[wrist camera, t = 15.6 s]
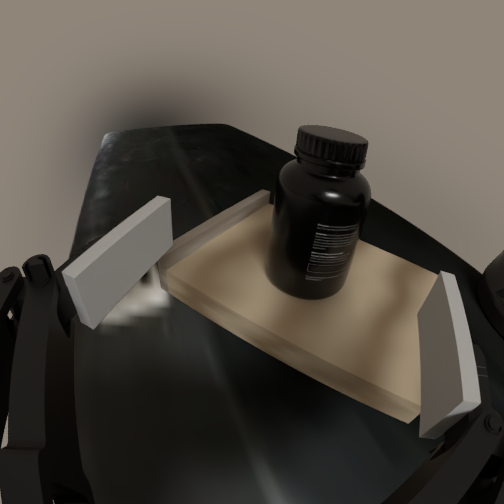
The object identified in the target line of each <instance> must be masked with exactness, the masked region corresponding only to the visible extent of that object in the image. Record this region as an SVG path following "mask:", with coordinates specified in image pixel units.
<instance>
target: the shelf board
mask: <svg viewBox="0 0 504 504" xmlns="http://www.w3.org/2000/svg"><path fill="white" fill-rule="evenodd" d="M269 197H270V192H269V191H266V190H263V189H262V190H261V191H259V192H257V193H255V194H253V195H252V196H250V197H248V198H246V199H244V200H243V201H241V202H239V203H237V204H235V205H234V206H232V207H230V208H228V209H227V210H225V211H223V212H221V213H220V214H218V215H216V216H214V217H213V218H211V219H209V220H207V221H206V222H204V223H202V224H201V225H199V226H197V227H195V228H194V229H192V230H190V231H189V232H187V233H185V234H184V235H182V236H180V237H179V238H177V239H175V240H174V241H173V245H172V246H171V247H170V248H169V250H168V251H167V252H166V253H165V254H164V255H163V256H162V257H161V258H160V259H159V260H158V268H159V276H160V283H161V288H162V289H164V290H165V291H167V292H168V293H170V294H171V295H173V296H174V297H176V298H177V299H179V300H181V301H182V302H184V303H185V304H187V305H188V306H190V307H191V308H193V309H194V310H196V311H198V312H199V313H201V314H202V315H204V316H206V317H207V318H209V319H210V320H212V321H214V322H215V323H217V324H218V325H220V326H222V327H223V328H225V329H227V330H228V331H230V332H232V333H233V334H235V335H237V336H238V337H240V338H242V339H243V340H245V341H247V342H248V343H250V344H252V345H254V346H255V347H257V348H259V349H261V350H262V351H264V352H266V353H268V354H269V355H271V356H273V357H275V358H276V359H278V360H280V361H282V362H284V363H286V364H287V365H289V366H291V367H293V368H295V369H297V370H298V371H300V372H302V373H304V374H306V375H308V376H310V377H312V378H314V379H315V380H317V381H319V382H321V383H323V384H325V385H327V386H329V387H331V388H333V389H335V390H337V391H339V392H341V393H343V394H345V395H347V396H349V397H351V398H353V399H355V400H357V401H360V402H362V403H364V404H366V405H368V406H370V407H372V408H375V409H377V410H379V411H381V412H383V413H386V414H388V415H390V416H392V417H394V418H397V419H399V420H401V421H404V422H406V423H410V422H411V421H412V420H413V419H414V418H415V417H416V416H418V415H419V414H420V409H421V372H420V347H419V332H418V320H417V313H418V312H419V310H420V308H421V306H422V305H423V303H424V301H425V299H426V298H427V296H428V294H429V292H430V290H431V289H432V287H433V285H434V283H435V281H436V279H437V277H438V275H436V274H434V273H432V272H430V271H428V270H426V269H424V268H421V267H419V266H417V265H415V264H413V263H411V262H408V261H406V260H404V259H402V258H399V257H397V256H395V255H393V254H391V253H388V252H386V251H384V250H381V249H379V248H377V247H375V246H372V245H370V244H368V243H365V242H363V241H361V240H359V242H358V245H357V248H356V251H355V255H354V258H353V261H352V264H351V267H350V270H349V273H348V276H347V279H346V281H345V284H344V286H343V287H342V289H341V290H340V291H339V292H338V293H336V294H335V295H333V296H331V297H329V298H326V299H321V300H304V299H299V298H296V297H293V296H290V295H288V294H286V293H284V292H283V291H281V290H280V289H278V288H277V287H276V286H275V285H274V284H273V283H272V281H271V280H270V278H269V276H268V274H267V270H266V262H267V253H268V245H269V237H270V230H271V222H272V214H273V206H274V205H271V204H269Z"/></svg>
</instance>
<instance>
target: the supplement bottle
mask: <svg viewBox="0 0 504 504" xmlns="http://www.w3.org/2000/svg"><path fill="white" fill-rule="evenodd" d="M367 148H368V141H367V140H366V139H365V138H363V137H361V136H359V135H357V134H354V133H352V132H349V131H345V130H341V129H337V128H332V127H327V126H318V125H304V126H301V127H299V129H298V134H297V142H296V145H295V149H294V153H295V155H296V156H297V159H295V160H292V161H290V162H288V163H287V164H286V165H284V166H283V167H282V169H281V170H280V172H279V174H278V177H277V182H276V190H275V198H274V206H273V214H272V222H271V230H270V237H269V245H268V253H267V262H266V270H267V274H268V276H269V278H270V280H271V281H272V283H273V284H274V285H275V286H276V287H277V288H278V289H280V290H281V291H283V292H284V293H286V294H288V295H290V296H293V297H296V298H299V299H304V300H321V299H326V298H329V297H331V296H333V295H335V294H336V293H338V292H339V291H340V290H341V289H342V287H343V286H344V284H345V281H346V279H347V276H348V273H349V270H350V267H351V264H352V261H353V258H354V255H355V251H356V248H357V245H358V242H359V238H360V235H361V232H362V228H363V225H364V221H365V218H366V214H367V211H368V207H369V203H370V199H371V189H370V186H369V184H368V181H367V180H366V178H365V177H364V176H363V175H362V174H361V173H360V170H361V169H363V168H364V167H365V162H366V160H365V158H366V153H367Z"/></svg>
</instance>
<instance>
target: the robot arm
mask: <svg viewBox="0 0 504 504" xmlns="http://www.w3.org/2000/svg"><path fill="white" fill-rule="evenodd" d="M172 245H173V238H172V221H171V201H170V199H169V198H165V197H161V196H157V197H155V198H154V199H153V200H151V201H150V202H149V203H147V204H146V205H144V206H143V207H142V208H140V209H139V210H138V211H136V212H135V213H134V214H132V215H131V216H130V217H128V218H127V219H126V220H124V221H123V222H122V223H120V224H119V225H118V226H117V227H115V228H114V229H113V230H111V231H110V232H109V233H108V234H106V235H105V236H104V237H103V238H102V237H99V238H97V239H95V240H93V241H90V242H89V243H88V244H87V245H85V246H84V247H83V248H82V250H81V249H80V250H79V251H78V252H77V253H76V255H75V254H74V255H73V256H72V257H71V258H70V259H68V260H67V261H66V262H65V263H64V264H63V265H62V266H60V267H59V268H58V269H57V270H56V271H54V269H53V266H52V264H51V261H50V258H49V257H48V256H47V255H44V254H41V255H35V256H33V257H31V258H29V259H28V260H27V261H26V262H25V263H24V264H23V266H22V269H23V271H24V274H25V276H26V277H22V274H21V272H20V270H19V268H17V267H14V266H13V267H8V268H6V269H4V270H3V271H2V272H0V449H1V444H2V439H3V434H4V429H5V424H6V420H7V416H8V444H7V446H6V447H4V448H2V449H1V450H0V491H1V499H2V504H53V500H54V503H55V504H95V503H94V499H93V494H92V490H91V487H90V484H89V481H88V479H87V478H86V476H85V474H84V472H83V469H82V464H81V458H80V451H79V443H78V434H77V424H76V412H75V397H74V319H73V317H74V316H75V315H76V314H78V316H79V318H80V321H81V323H83V324H85V325H87V326H88V327H90V328H92V329H95V328H96V327H97V325H98V324H99V323H100V322H101V321H102V320H103V319H104V318H105V316H106V315H107V314H108V313H109V312H110V311H111V310H112V309H113V308H114V306H115V305H116V304H117V303H118V302H119V301H120V300H121V299H122V298H123V297H124V296H125V294H126V293H127V292H128V291H129V290H130V289H131V288H132V287H133V286H134V285H135V284H136V283H137V282H138V281H139V280H140V278H141V277H142V276H143V275H144V274H145V273H146V272H147V271H148V270H149V269H150V268H151V267H152V266H153V265H154V264H155V263H156V262H157V261H158V260H159V259H160V258H161V257H162V256H163V255H164V254H165V253H166V252H167V251H168V250H169V248H170V247H171V246H172ZM477 294H478V298H479V301H480V304H481V306H482V308H483V310H484V312H485V314H486V316H487V317H488V319H489V320H490V322H491V323H492V325H493V326H494V327H495V329H496V330H497V331H498V332H499V333H500V334H501V335H502V336H503V337H504V251H503V252H502V253H501V254H500V255H498V256H497V258H495V259H494V260H493V261H492V263H490V264H489V265H488V266H487V268H486V269H485V271H484V273H483V274H482V276H481V278H480V280H479V281H478V285H477ZM9 310H10V311H11V313H12V314H13V316H12V318H11V319H9V317H8V315H7V314H8V312H9ZM417 320H418V332H419V347H420V372H421V409H420V433H419V437H422V438H431V439H436V438H438V437H439V436H441V435H442V434H443V433H445V441H443V442H442V443H440V444H439V445H438V446H436V447H435V448H433V449H432V450H430V451H429V452H430V453H432V452H433V451H434V452H433V453H432V454H431V455H430V456H429V457H428V458H427V459H426V461H425V462H424V463H423V464H422V465H421V466H420V467H419V468H418V469H417V470H416V471H415V472H414V473H413V474H412V475H411V476H410V477H409V478H408V479H407V480H406V481H405V482H404V483H403V484H402V485H401V486H400V487H399V488H398V489H397V490H396V491H395V492H394V493H392V494H391V495H390V496H389V497H388V498H387V499H386V500H385V501H384V502H382V503H381V504H504V423H503V419H502V417H501V416H500V414H499V413H498V412H497V411H495V410H494V409H493V408H492V400H491V392H490V385H489V379H488V378H487V377H488V373H487V369H486V362H485V357H484V354H483V353H482V351H481V349H480V347H479V345H474V344H472V341H471V337H470V332H469V327H468V323H467V319H466V315H465V311H464V307H463V303H462V299H461V296H460V292H459V289H458V285H457V282H456V279H455V276H454V275H453V274H450V273H446V272H443V271H440V273H439V275H438V277H437V279H436V281H435V283H434V285H433V287H432V289H431V290H430V292H429V294H428V296H427V298H426V299H425V301H424V303H423V305H422V306H421V308H420V310H419V312H418V313H417ZM8 412H9V413H8Z"/></svg>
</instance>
